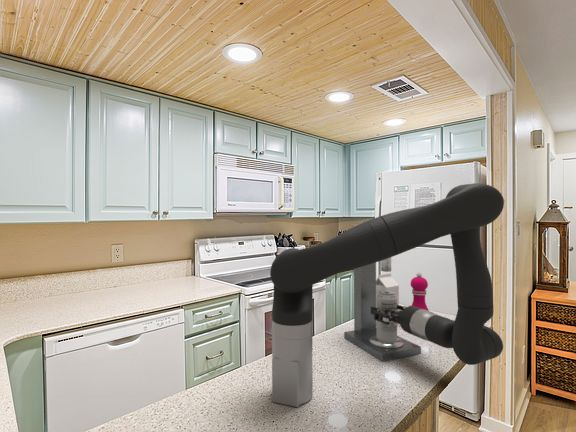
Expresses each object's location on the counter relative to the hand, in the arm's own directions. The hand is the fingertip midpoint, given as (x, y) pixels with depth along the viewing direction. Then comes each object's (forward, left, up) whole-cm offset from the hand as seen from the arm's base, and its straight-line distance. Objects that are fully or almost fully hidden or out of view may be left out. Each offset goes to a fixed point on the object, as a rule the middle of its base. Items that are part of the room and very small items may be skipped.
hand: (382, 308), depth 106 cm
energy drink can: (-1, -1, -10) cm, 10 cm away
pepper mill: (+25, -10, -12) cm, 29 cm away
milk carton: (+23, +2, -12) cm, 26 cm away
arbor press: (+4, -2, -12) cm, 13 cm away
